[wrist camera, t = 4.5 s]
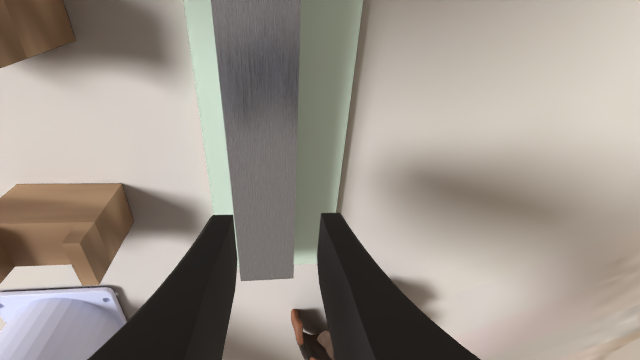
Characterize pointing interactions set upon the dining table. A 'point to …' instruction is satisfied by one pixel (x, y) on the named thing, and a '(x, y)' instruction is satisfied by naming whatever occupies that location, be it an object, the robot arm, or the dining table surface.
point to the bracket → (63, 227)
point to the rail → (260, 127)
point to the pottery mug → (312, 341)
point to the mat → (313, 110)
